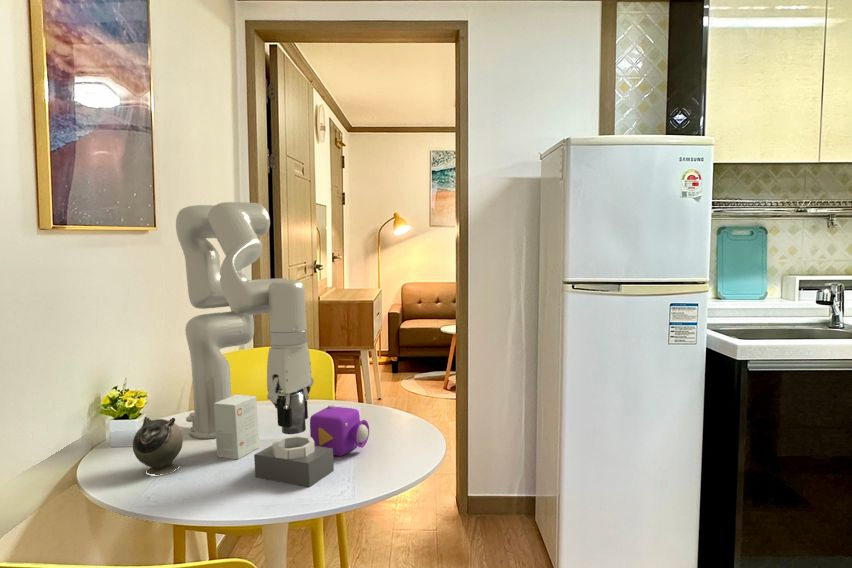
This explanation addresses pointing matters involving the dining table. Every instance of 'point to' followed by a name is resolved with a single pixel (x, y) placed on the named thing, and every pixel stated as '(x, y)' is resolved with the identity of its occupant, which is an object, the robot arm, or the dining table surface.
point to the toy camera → (339, 429)
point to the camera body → (294, 461)
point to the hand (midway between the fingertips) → (293, 421)
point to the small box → (236, 426)
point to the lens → (296, 413)
